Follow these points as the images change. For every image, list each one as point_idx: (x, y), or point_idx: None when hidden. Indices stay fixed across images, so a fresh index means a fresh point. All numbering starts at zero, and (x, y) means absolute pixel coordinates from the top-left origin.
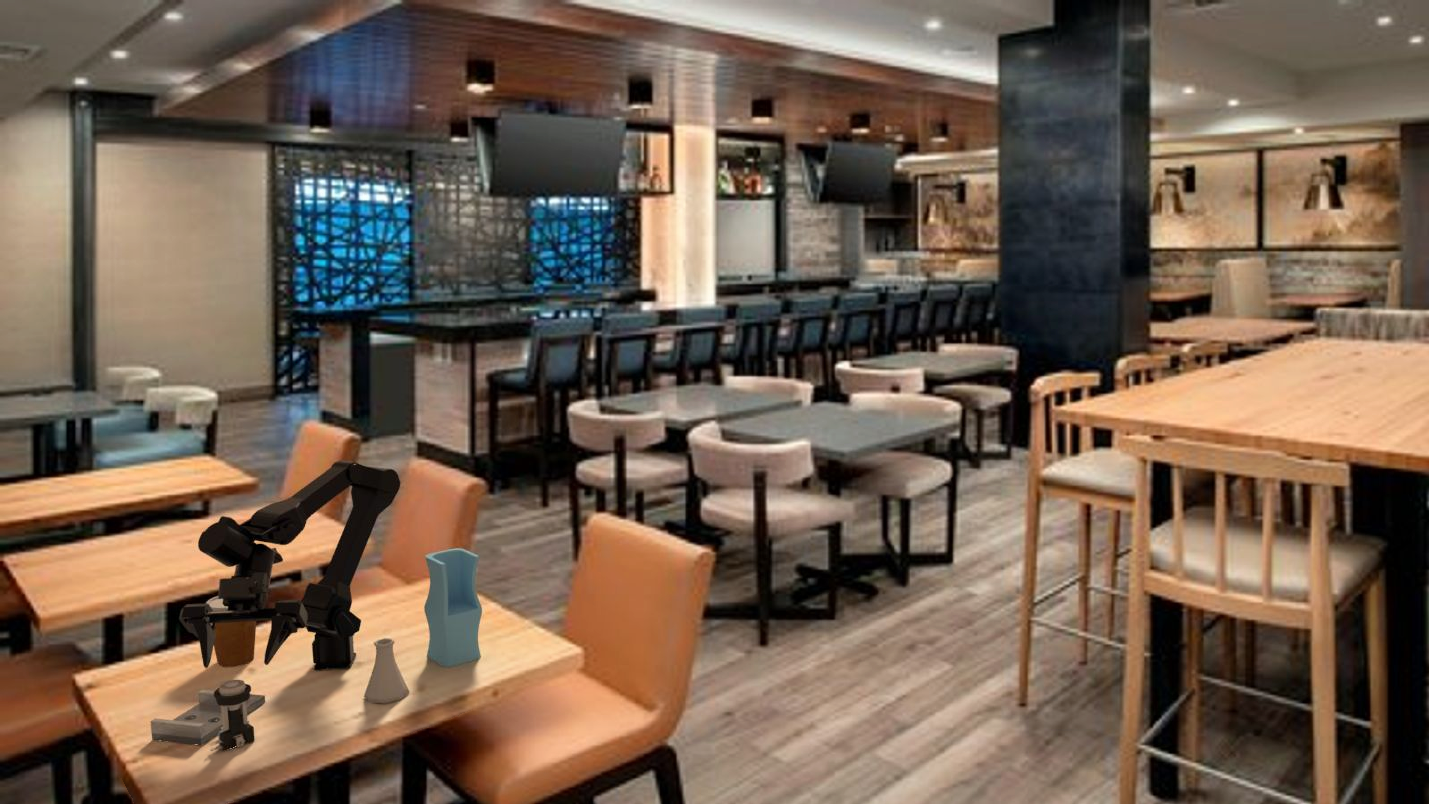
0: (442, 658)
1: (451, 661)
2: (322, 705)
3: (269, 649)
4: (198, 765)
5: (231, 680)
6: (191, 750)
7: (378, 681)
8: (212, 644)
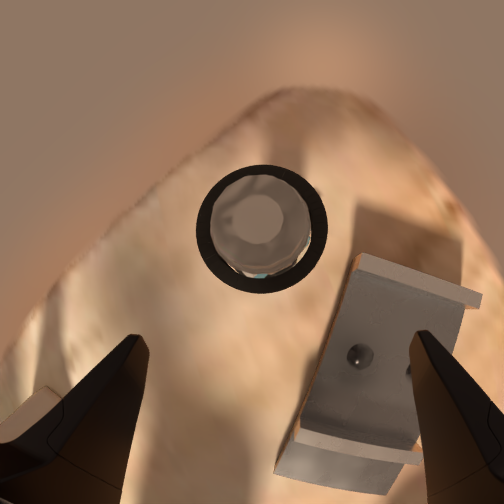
0: None
1: None
2: (144, 423)
3: (98, 374)
4: (321, 172)
5: (273, 260)
6: (365, 240)
7: (32, 413)
8: (432, 480)
